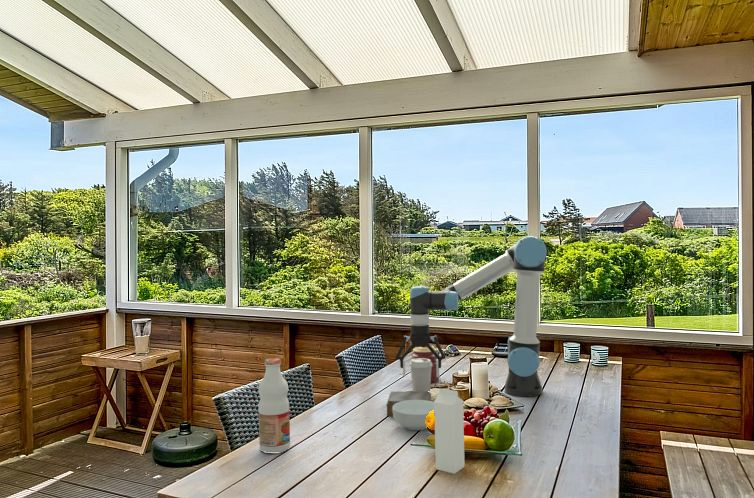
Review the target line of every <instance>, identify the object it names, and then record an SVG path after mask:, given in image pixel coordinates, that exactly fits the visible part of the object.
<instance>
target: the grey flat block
mask: <svg viewBox="0 0 754 498" xmlns="http://www.w3.org/2000/svg"><path fill="white" fill-rule="evenodd" d="M406 400H426V401H432V393H431V391H430V392H413V391H390V393H389V395H388V399H387V402H386V415H387V417H388V416H389V417H390V416H392V417H394V416H393V410H392V408H393V405H394V404H396V403H398V402H401V401H406Z"/></svg>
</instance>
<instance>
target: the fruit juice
mask: <svg viewBox="0 0 754 498" xmlns="http://www.w3.org/2000/svg"><path fill="white" fill-rule="evenodd" d="M281 362H282V361H281V358H276V357H275V358H273V357H272V358H265V360H264V366H265V372H264V376H263V378H262V379H261V381H260V383H259V384H258V394H259V399H260V400H259V402H258V426H259V427H258V431H259V432H258V433H259V435H258V436H259V437H258V438H259V450H260V449H261V450H263V451H266V452H282V451H285V450H287V449H288V448H289V447H290V448H291V426H290V425H291V424H290V422H291V421H290V404H289V403H290V401H289V399H288V391H289V385H288V382H287V380H286V379H285V378H284V377H283V375H282V371H281ZM290 448H289V449H290ZM289 449H288V450H289ZM261 450H260V451H261ZM288 450H287V451H288ZM285 452H286V451H285ZM282 453H283V452H282Z"/></svg>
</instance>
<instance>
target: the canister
mask: <svg viewBox="0 0 754 498" xmlns="http://www.w3.org/2000/svg"><path fill="white" fill-rule="evenodd" d="M431 346H432V348H433V349H434V350H435V351H436V352H437V351H438V348H437V347H436V346H433V345H431ZM410 356H411V360H412V359H417V358H426V359H430V360H431V362H432V365H433V366H432V367H431V382H430V384H433V383H434V384H435V383H437V382H439V381H440V373H439V377H437V364H436V359H437V358H436V357H435V355H434V354H433V353H432V352H431V351H430V350H429V349H428V348H427V347H426V346H425V347H415V346H414V347H413V348H412V353H411V354H410ZM438 370H439V371H440V368H438ZM410 375H411V374H410ZM410 378H411V379H412V375H411V377H410Z"/></svg>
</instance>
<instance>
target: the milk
mask: <svg viewBox="0 0 754 498" xmlns="http://www.w3.org/2000/svg"><path fill="white" fill-rule="evenodd" d="M433 402H434V416H435V425H434V445H435V446H434V447H435V451H434V453H435V470H437V471H438V470H439V471H441V472H445V473H449V474H452V475H453V474H454V475H455V474H457V473H458V472H459V471H461V470H462V469H464V468H465V464H466V463H465V436H464V435H465V434H464V433H465V431H464V429H465V425H464V399H462V398H461V397H459V392H458V390H454V389H446V388H438V395H437V396H436V398H435V399H434V401H433Z"/></svg>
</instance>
